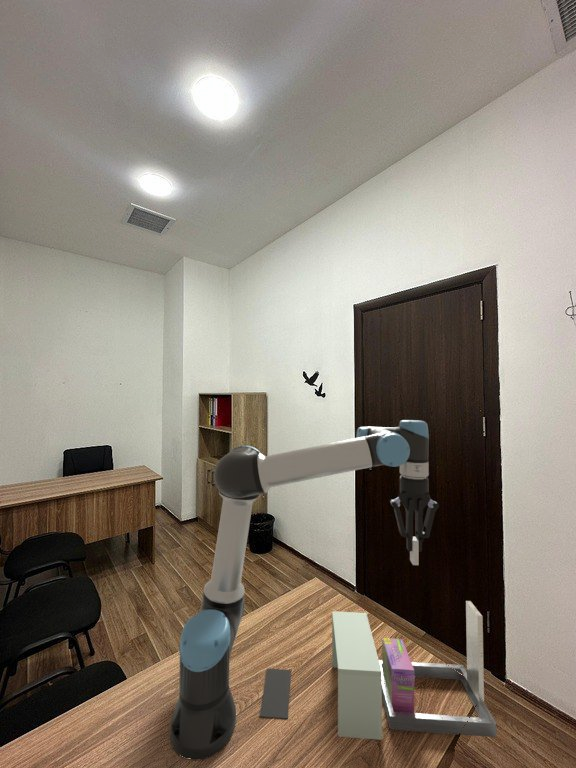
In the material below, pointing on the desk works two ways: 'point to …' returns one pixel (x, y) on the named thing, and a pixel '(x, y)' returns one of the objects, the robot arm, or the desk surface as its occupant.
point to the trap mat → (276, 694)
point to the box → (398, 674)
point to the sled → (470, 680)
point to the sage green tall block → (357, 676)
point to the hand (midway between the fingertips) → (414, 562)
